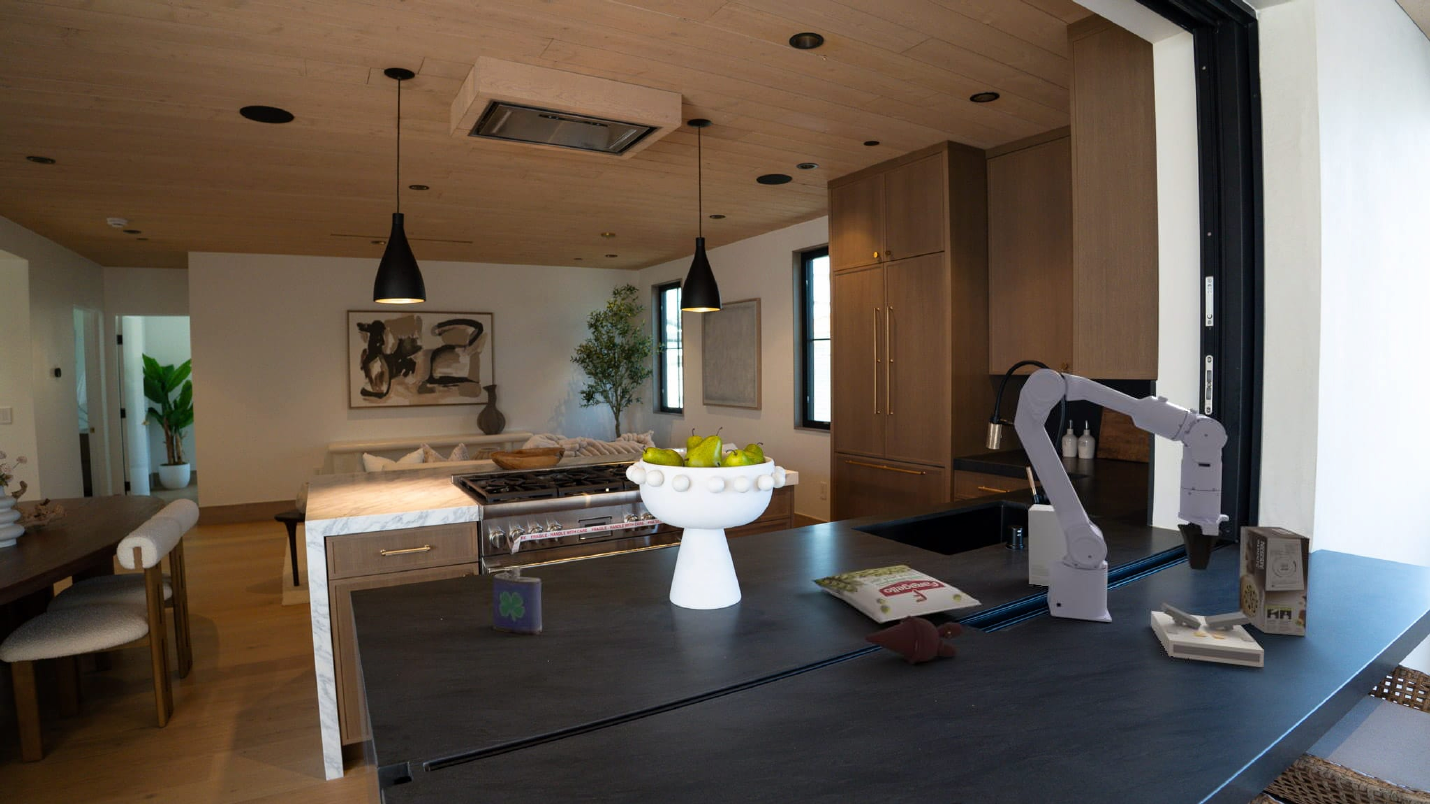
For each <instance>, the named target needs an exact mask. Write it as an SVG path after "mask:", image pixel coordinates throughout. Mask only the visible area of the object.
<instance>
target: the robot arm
mask: <svg viewBox="0 0 1430 804" xmlns="http://www.w3.org/2000/svg"><path fill="white" fill-rule="evenodd" d="M1061 375H1062V376H1061ZM1063 377H1064V378H1063ZM1064 396H1065V400H1066V401H1067V402H1068V401H1069V402H1070V401H1081V400H1086V401H1089V402H1091V403H1094V404H1097V405H1100V406H1103V407H1104V408H1108V409H1111V410H1113V411H1116V412H1120V413H1121V414H1124V415H1128V416H1129V417H1131V419H1132V421H1133V424H1134V426H1135V427H1137V428H1139V429H1141V430H1144V431H1146V432H1149V433H1151V434H1154V435H1157V436H1159V437H1162V438H1165V439H1166V440H1170V441H1172V442H1181V443H1182V444H1183V445H1182V458H1181V461H1180V487H1179V511H1178V513H1177V517H1178V519H1181V520H1184V521H1186V522H1188V523H1187V524H1185V523H1184V524H1183V523H1180V524H1179V523H1178V524H1177V528H1178V530H1179V532H1180V535H1181V537H1182V539H1183V541H1184V542H1183V543H1184V546H1185V550H1186V551H1185V552H1186V557H1187V560H1188V564H1189V565H1188V566H1189V568H1190V569H1192V570H1198V571H1206V570H1207V568H1208V565H1209V562H1210V558H1211V555H1212V552H1213V549H1214V547H1215V545H1216V543H1217V542H1218V541H1219V539H1220V538H1221V537H1222V533H1223V532H1222V531H1221V530H1220V529H1219V527H1220V523H1221V522H1229V521H1230V519H1229V516H1228V515H1227V514H1221V505H1222V503H1221V502H1222V499H1221V498H1222V479H1223V478H1222V475H1223V474H1222V473H1223V472H1222V469H1223V462H1222V456H1223V454H1222V453H1223V452H1222V448H1224V446H1225V445H1226V443H1227V441H1228V437H1229V436H1228V435H1227V434H1226V433H1227V432H1226V430H1225V428H1224V426H1223V425H1222V424H1221V423H1220V422H1219V421H1217V420H1216V419H1214V418H1211V417H1208V416H1206V415H1205V414H1201V413H1200V414H1199V410H1197V409H1194V408H1191V407H1190V409H1187V408H1184V407H1182V406H1180V405H1176V404H1174V403H1171V402H1169V401H1168V400H1169V399H1168V398H1167V397H1165V396H1162V395H1158V397H1156V396H1153V395H1149V396H1146V397H1143V398H1139V399H1138V398H1135V397H1132V396H1131V395H1128V394H1125V393H1123V392H1121V391H1118V390H1115V389H1113V388H1110V387H1108V386H1106V385H1103V384H1101V383H1098V382H1096V381H1093V380H1091V379H1088V378H1086V377H1083V376H1079V375H1073V374H1069V373H1064V372H1061V374H1060V373H1058V372H1057V371H1055V370H1053V369H1051V368H1040V369H1037V370H1035V371H1034V372H1032V374H1030V376H1029V377H1028V379H1027V380H1026V382H1025V384H1024V385H1023V387H1022V388H1021V390H1020V393H1019V399H1018V403H1017V407H1016V408H1017V409H1016V414H1015V417H1014V424H1013V425H1014V429H1015V431H1016V433H1017V435H1018V437H1019V440H1020V443H1022V445H1023V448H1024V449H1025V452H1026V454H1027V456H1028V459H1029V460H1030V463H1031V465H1032V467H1033V469H1034V471H1035V473H1036V475H1037V478H1038V479H1039V482H1040V483H1041V485H1042V488H1043V490H1044V492H1045V494H1046V496H1047V498H1048V500H1049V502H1050V504H1051V506H1052V507H1053V509H1054V511H1055V513H1056V515H1057V517H1058V520H1059V522H1060V525H1061V528H1062V530H1063V532H1064V535H1065V542H1066V551H1067V554H1066V555H1065V556H1063V557H1062V561H1059V562H1055V561H1051V562H1050V566H1049V587H1048V592H1047V595H1046V596H1047V598H1046V599H1047V603H1048V607H1049V613H1050V615H1051V616H1052V617H1059V618H1068V619H1069V618H1070V619H1077V620H1087V621H1095V622H1096V621H1097V622H1106V623H1107V622H1108V623H1112V621H1113V619H1112V617H1111V615H1110V613H1109V611H1108V608H1107V604H1108V603H1107V601H1108V599H1107V597H1108V565H1109V563H1108V561H1106V560H1105V559H1106V557H1107V555H1108V547H1107V544H1106V541H1105V539H1104V535H1103V532H1102V530H1101V529H1100V528H1099V527H1098V526H1097V525H1096V524H1094V523H1093V522H1092V521H1091V520H1090V518H1089V517H1088V514H1087V512H1086V510H1085V509H1084V507H1083V505H1082V503H1081V501H1080V499H1079V497H1078V494H1077V492H1076V490H1075V488H1074V487H1073V485H1072V482H1071V481H1070V477H1069V476H1068V474H1067V472H1066V470H1065V468H1064V466H1063V463H1062V461H1061V459H1060V457H1059V455H1058V454H1057V451H1056V449H1055V447H1054V445H1053V442H1052V441H1051V439H1050V437H1049V435H1048V432H1047V431H1046V428H1045V423H1046V421H1047V419H1048V417H1049V415H1050V412H1051V410H1052V409H1053V408H1054V407H1055V406H1056V405H1057V404H1058V403H1059V401H1061V400H1062V399H1063V397H1064Z"/></svg>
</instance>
